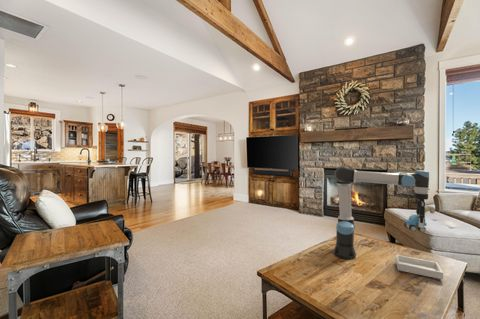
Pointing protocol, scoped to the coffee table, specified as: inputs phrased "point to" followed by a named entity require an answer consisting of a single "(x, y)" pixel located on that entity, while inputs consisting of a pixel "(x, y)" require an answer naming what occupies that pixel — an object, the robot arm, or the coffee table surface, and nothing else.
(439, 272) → the white tray
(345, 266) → the coffee table surface
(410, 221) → the toy excavator
